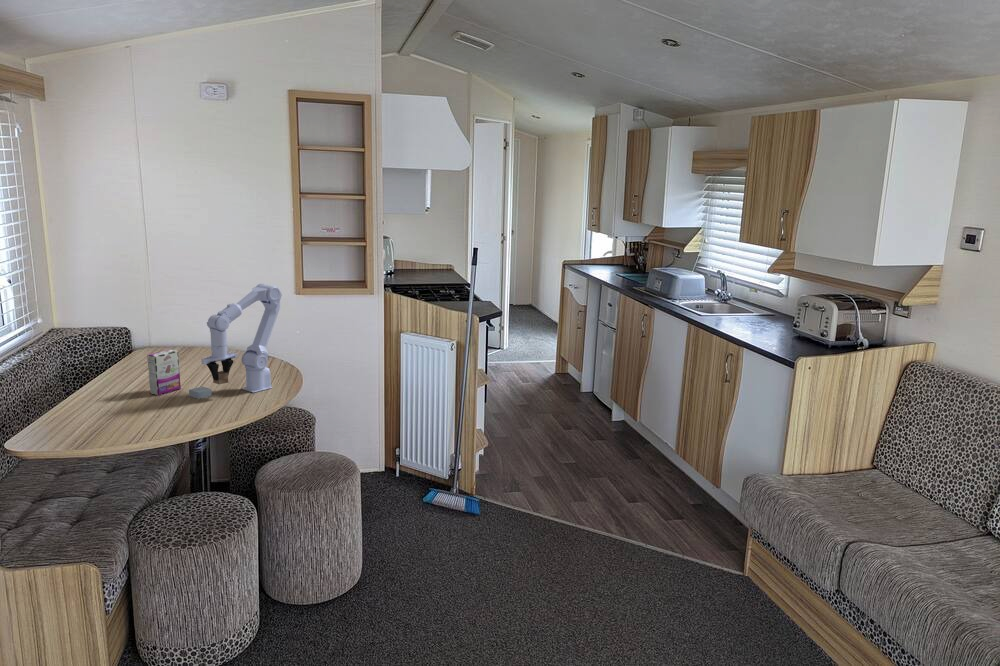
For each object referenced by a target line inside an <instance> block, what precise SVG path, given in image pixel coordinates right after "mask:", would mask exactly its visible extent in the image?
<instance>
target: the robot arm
mask: <svg viewBox="0 0 1000 666" xmlns="http://www.w3.org/2000/svg"><path fill="white" fill-rule="evenodd" d="M282 296H283V293H282V291H281V289H280V288H279V287H278V286H276V285H269V284H264V283H258V284H257V285H256V286H254V287H253V288H252V290H251V291H249V293H248V294H246V295H245V296H244V297H242V298H241V299H240V300H239V301H238V302H237V303H233V302H232V303H228V304H227V305H226V307H225V308H223V309H222V310H220V311H219V310H218V311H217V314H211V315H210V316H209V317H208V319H207V321H206V326H207V327H208V328H209V333H210V344H211V345H210V346H211V350H210V351H211V356H208V357H205V358H201V365H206V366H207V367H208V369H209V371H210V374H211V377H212V381H213V380H218V372H219V366H220V364H218V363H219V362H221V366H222V371H224V372H227V373H228V376H229V374H230V372H231V371H230V370H231V368H232V366H233V364H234V359H238V353H237V352H229V353H228V340H227V329H229V326H230V324H231V323H233V321H235V320H236V319H237V318H239V317H240V316H241V315H242V312H243V310H245V309H246V308H248V307H250V306H251V305H253V304H254V303H256V302H258V301H260V302H261V304H262V305H263V306H264V311H263V314H262V317H261V319H260V322H259V325H258V328H257V331H256V334H255V336H254V339H253V342H252V343H251V344H250V345H249V346H247V347H246V350H245V351H244V353H243V354H242V355H241V363H242V365H244V368H245V386H244V387H241V390H243V391H247V392H250V393H257V392H262V391H266V390H271V389H272V388H273V386H272V381H271V377H272V375H271V373H272V372H271V370H270V368H269V367H268V366H267V365H268V357H269V352H268V350H267V346H268V343H269V340H270V338H271V334H272V332H273V329H274V326H275V323H276V320H277V317H278V314H279V312H280V309H281V299H282ZM217 362H218V363H217Z"/></svg>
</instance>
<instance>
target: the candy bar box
mask: <svg viewBox="0 0 1000 666" xmlns="http://www.w3.org/2000/svg"><path fill="white" fill-rule="evenodd" d="M146 355H147V367H148V369H147V371H148V379H149V381H148V382H149V392H150V393H152V394H155V395H154V396H158V395H159V396H162V395H161V394H163V395H165V394H164V393H166V394H168V392H169V393H172V392H175V390H176V391H178V389H179V390H181V389H182V388H181V375H180V373H181V372H180V362H179V361H180V360H179V351H178V350H177V349H176V350H175V349H170V348H169V349H165V350H163V351H162V350H161V351H159V352H154V353H151V354H150V353H149V354H146ZM171 391H172V392H171ZM152 394H151V395H152Z"/></svg>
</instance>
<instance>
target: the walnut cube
mask: <svg viewBox="0 0 1000 666" xmlns="http://www.w3.org/2000/svg"><path fill="white" fill-rule="evenodd" d="M212 381H213V383H214V384H216V385H223V384H227V383H229V375H228V373H227V372H224V371H223V370H220V371H219V370H218V380H213V379H212Z"/></svg>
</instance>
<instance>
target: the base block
mask: <svg viewBox="0 0 1000 666" xmlns="http://www.w3.org/2000/svg"><path fill="white" fill-rule="evenodd" d="M188 396H189V397H190V396H191V397H190V398H193V397H194V398H193V399H196V398H197V400H201V399H205V398H208V396H209V397H212V396H213V393H212V388H210V387H209V388H208V387H205V386H199V387H193V388H191V389H188ZM204 397H205V398H204ZM200 398H201V399H200Z"/></svg>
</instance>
